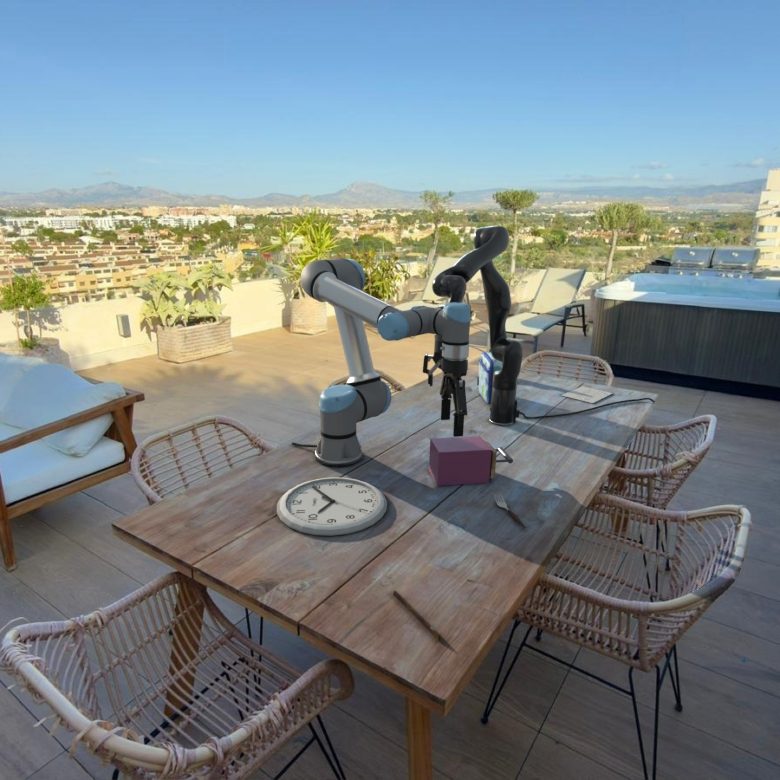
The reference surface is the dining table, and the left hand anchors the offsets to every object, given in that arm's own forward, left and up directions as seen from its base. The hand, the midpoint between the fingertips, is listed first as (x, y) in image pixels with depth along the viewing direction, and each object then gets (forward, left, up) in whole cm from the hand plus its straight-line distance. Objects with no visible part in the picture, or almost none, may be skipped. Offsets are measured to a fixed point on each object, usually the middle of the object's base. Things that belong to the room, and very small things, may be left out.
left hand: (451, 427), depth 155 cm
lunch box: (+1, +82, -16) cm, 83 cm away
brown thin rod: (+7, -61, -16) cm, 64 cm away
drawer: (+7, +4, -15) cm, 17 cm away
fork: (+20, -16, -16) cm, 30 cm away
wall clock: (-26, -28, -16) cm, 41 cm away
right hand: (-7, +19, +7) cm, 21 cm away
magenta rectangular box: (+3, +2, -16) cm, 17 cm away
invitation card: (+42, +105, -16) cm, 114 cm away
